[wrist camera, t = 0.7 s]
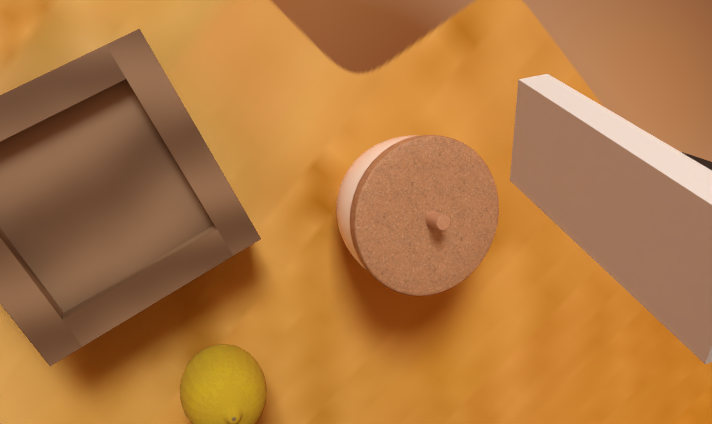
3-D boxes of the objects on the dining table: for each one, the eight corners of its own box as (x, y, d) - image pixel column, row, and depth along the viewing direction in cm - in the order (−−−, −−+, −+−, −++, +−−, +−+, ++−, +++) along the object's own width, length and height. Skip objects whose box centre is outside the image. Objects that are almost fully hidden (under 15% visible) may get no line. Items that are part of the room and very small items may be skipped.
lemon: (169, 337, 41) (180, 388, 34) (248, 321, 43) (274, 366, 36) (180, 408, 43) (193, 472, 35) (256, 389, 45) (283, 447, 37)
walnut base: (244, 223, 42) (261, 239, 37) (58, 333, 39) (49, 366, 34) (136, 37, 37) (139, 28, 33) (-87, 145, 34) (-119, 152, 29)
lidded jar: (382, 293, 47) (441, 336, 39) (287, 206, 43) (329, 233, 34) (467, 193, 48) (542, 213, 40) (383, 99, 44) (446, 100, 36)
